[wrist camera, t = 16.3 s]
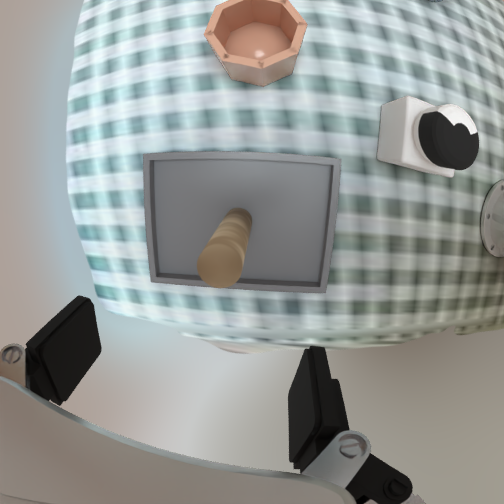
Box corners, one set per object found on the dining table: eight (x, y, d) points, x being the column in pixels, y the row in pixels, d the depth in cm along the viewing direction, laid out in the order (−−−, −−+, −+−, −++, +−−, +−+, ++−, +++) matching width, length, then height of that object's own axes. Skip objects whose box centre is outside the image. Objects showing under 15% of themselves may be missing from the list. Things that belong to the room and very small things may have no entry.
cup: (311, 65, 26) (322, 44, 19) (242, 97, 28) (235, 82, 21) (272, 12, 23) (273, -17, 17) (206, 41, 25) (191, 18, 19)
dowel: (257, 226, 32) (250, 276, 19) (233, 239, 33) (212, 294, 20) (243, 202, 31) (227, 237, 18) (219, 216, 32) (188, 258, 19)
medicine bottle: (422, 172, 29) (482, 185, 18) (375, 159, 29) (427, 165, 18) (428, 120, 26) (488, 114, 15) (380, 104, 27) (432, 85, 15)
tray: (336, 158, 29) (341, 158, 27) (322, 285, 35) (325, 293, 33) (150, 153, 30) (143, 153, 28) (156, 275, 36) (151, 282, 34)
